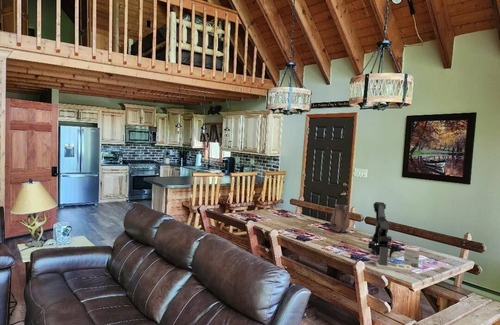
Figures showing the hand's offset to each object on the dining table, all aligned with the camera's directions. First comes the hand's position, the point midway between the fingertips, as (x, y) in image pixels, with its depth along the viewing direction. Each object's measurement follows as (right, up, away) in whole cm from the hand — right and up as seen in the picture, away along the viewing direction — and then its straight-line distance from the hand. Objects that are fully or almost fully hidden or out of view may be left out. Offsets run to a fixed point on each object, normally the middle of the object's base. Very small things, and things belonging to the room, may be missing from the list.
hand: (383, 257), depth 222 cm
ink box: (+23, -9, +11) cm, 28 cm away
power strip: (+6, -8, 0) cm, 10 cm away
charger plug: (0, -7, +2) cm, 7 cm away
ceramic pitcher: (-3, -2, +95) cm, 95 cm away
